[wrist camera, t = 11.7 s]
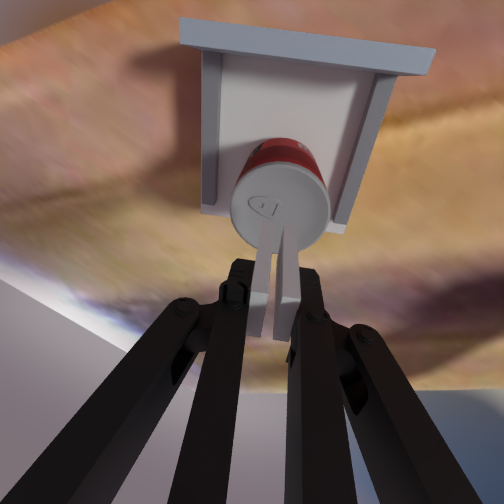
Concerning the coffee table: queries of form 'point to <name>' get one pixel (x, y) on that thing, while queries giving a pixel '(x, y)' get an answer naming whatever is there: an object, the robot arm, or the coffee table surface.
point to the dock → (293, 102)
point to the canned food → (280, 194)
